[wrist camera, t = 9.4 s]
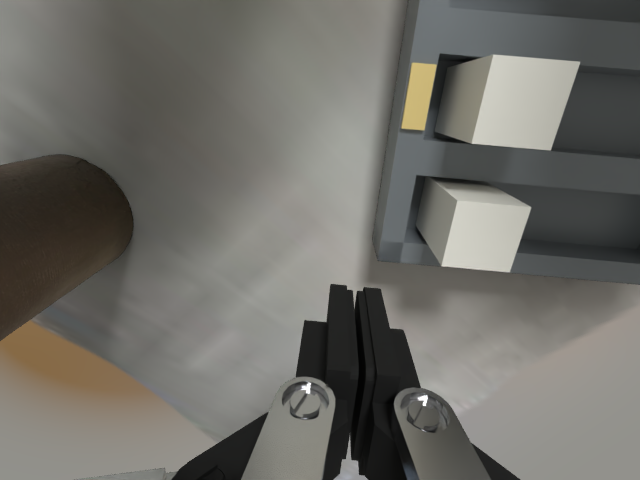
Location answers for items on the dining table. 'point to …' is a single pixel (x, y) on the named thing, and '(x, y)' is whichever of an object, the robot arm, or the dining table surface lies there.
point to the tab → (471, 223)
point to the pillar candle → (55, 232)
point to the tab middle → (506, 100)
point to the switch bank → (521, 163)
